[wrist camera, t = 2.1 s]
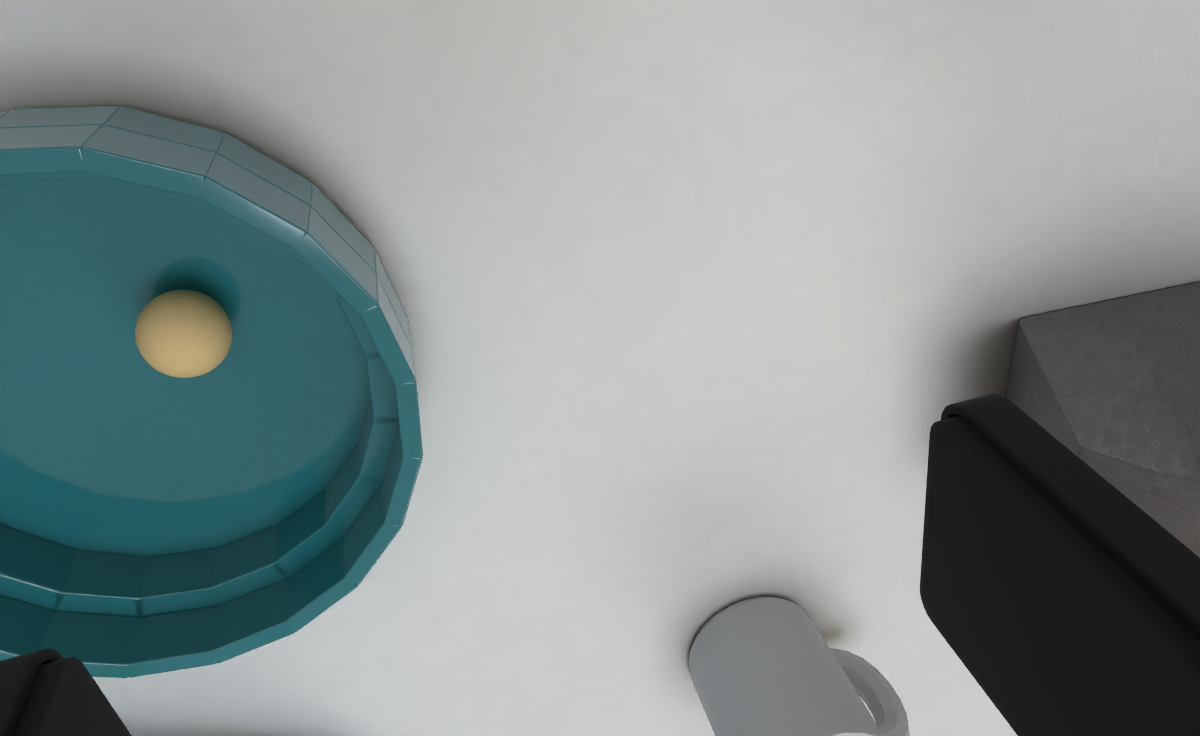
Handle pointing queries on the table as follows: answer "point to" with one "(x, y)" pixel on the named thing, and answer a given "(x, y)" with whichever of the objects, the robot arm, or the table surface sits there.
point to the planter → (1123, 395)
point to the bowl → (186, 396)
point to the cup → (786, 677)
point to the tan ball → (183, 333)
